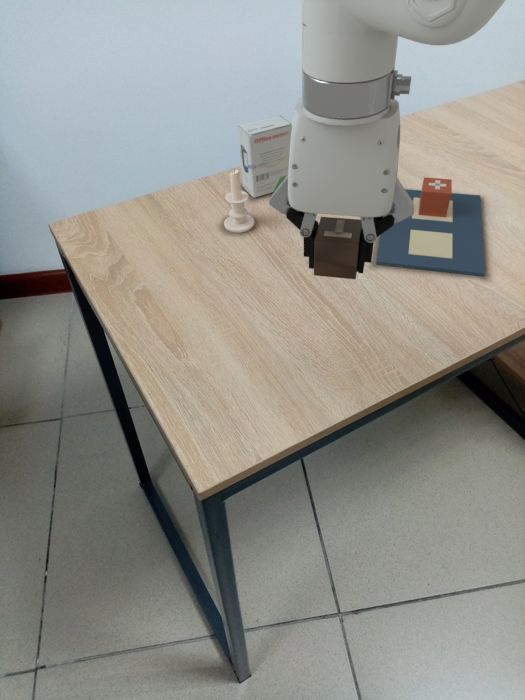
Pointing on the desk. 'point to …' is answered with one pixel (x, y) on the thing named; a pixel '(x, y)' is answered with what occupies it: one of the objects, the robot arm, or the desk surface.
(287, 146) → the ink box
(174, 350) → the desk surface
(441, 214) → the rust brown block
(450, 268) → the mat
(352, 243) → the wooden letter block
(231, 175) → the candle
